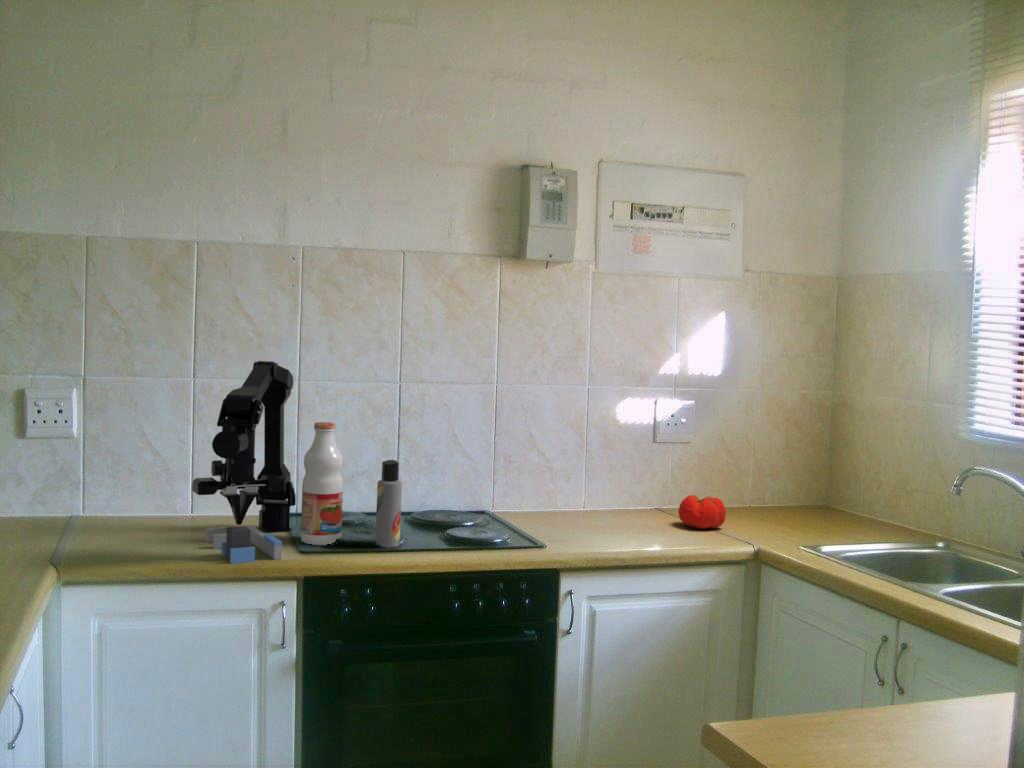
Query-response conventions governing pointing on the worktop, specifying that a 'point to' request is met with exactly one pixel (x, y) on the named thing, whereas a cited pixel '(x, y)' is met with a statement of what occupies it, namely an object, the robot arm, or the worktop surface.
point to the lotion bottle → (388, 506)
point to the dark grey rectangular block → (237, 538)
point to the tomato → (702, 512)
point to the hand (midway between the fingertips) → (238, 524)
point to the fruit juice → (322, 488)
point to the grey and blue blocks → (245, 554)
